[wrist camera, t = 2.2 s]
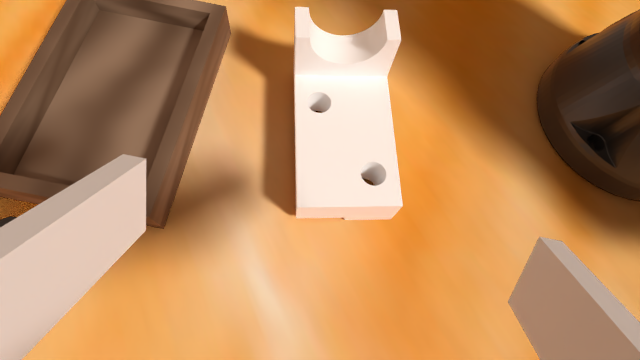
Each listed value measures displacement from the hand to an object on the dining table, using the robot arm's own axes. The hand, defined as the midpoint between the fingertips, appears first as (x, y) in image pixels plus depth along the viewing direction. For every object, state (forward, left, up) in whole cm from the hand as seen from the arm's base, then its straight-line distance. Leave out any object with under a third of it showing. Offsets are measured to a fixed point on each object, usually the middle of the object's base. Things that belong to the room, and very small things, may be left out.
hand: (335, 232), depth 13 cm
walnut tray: (+17, -11, -15) cm, 25 cm away
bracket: (0, -11, -15) cm, 19 cm away
